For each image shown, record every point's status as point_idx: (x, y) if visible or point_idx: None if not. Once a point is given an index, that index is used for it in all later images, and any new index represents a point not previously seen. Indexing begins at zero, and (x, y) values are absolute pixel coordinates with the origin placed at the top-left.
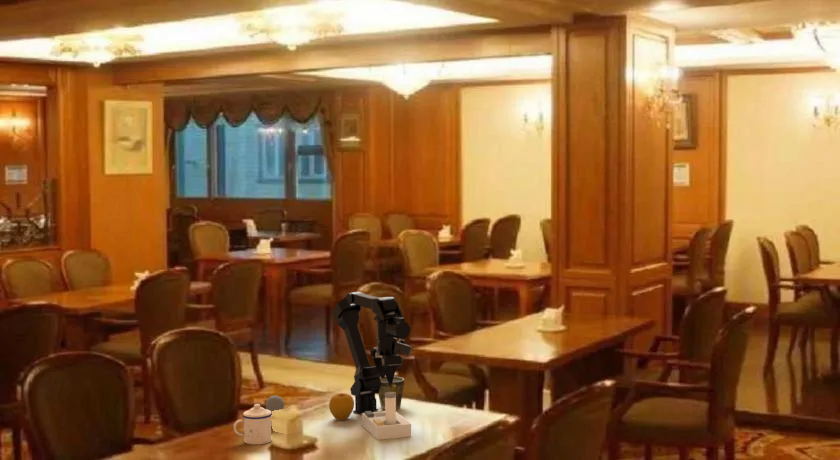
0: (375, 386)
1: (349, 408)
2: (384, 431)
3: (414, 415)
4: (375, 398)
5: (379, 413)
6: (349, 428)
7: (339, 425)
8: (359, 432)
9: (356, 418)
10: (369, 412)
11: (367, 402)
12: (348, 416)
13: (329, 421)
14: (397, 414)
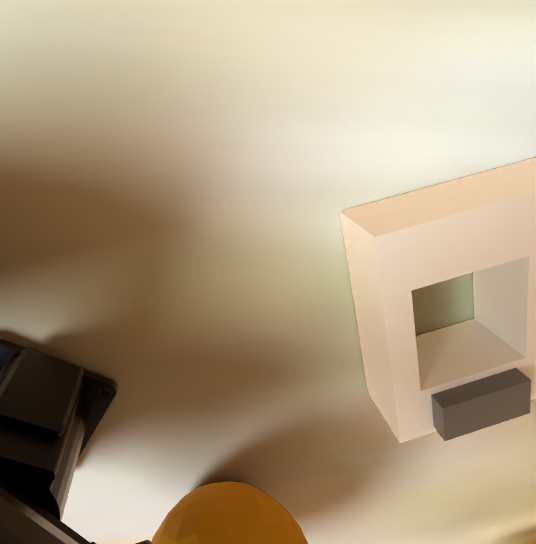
0: (24, 516)
1: (298, 527)
2: None
3: (151, 32)
4: (1, 413)
5: (413, 339)
6: (413, 441)
7: (344, 490)
8: None
9: (208, 436)
10: (486, 410)
11: (68, 448)
12: (251, 486)
13: None
14: (514, 212)
